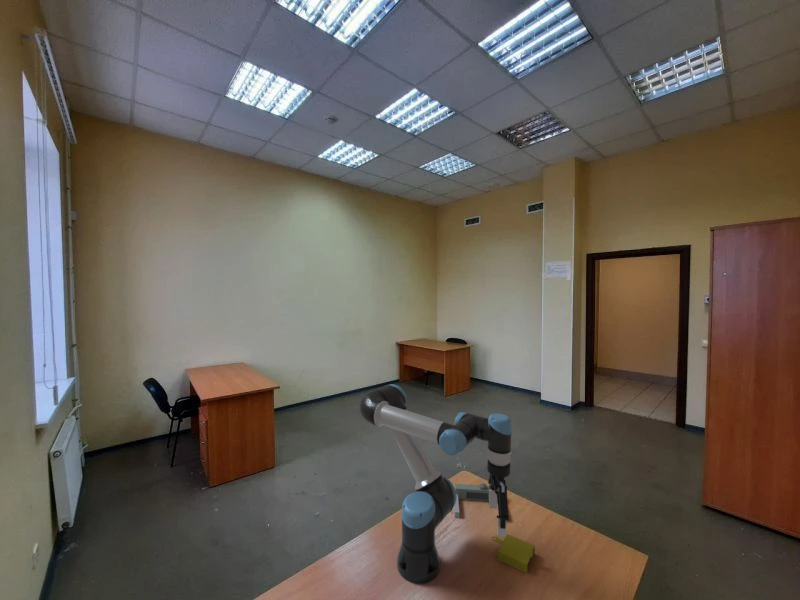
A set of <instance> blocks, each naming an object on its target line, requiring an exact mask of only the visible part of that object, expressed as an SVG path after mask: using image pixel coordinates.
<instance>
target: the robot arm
mask: <svg viewBox="0 0 800 600" xmlns="http://www.w3.org/2000/svg"><path fill="white" fill-rule="evenodd" d="M407 399H408V398H407V394H406V393H405V390H404V389H403V388H402V387H401V386H400V385H397V384H394V383H393V384H392V383H391V384H387V385H383V386H380V387H379V388H376V389H374V390H371V391H368V392H366V393H365V394H364V395H363V396H362V397H361V399H360V402H359V413H360V415H361V417H362V418H363V420H364V421H366V422H367V423H368V424H371V425H373V426H376V427H378V428H379V427H380V428H381V427H383V426H385V427H388V428H389V429H390V432H391V433H392V435H393V438H394V439H395V441H396V444H397V445H398V448H399V449H400V451H401V452H400V453H401V454H402V455H403V458H404V460H405V462H406V463H407V466H408V468H409V470H410V472H411V474H412V476H413V479H414V481H415V487H414V490H415V491H416V492H411V493H410V494H408V495H407V496H406V497H405V498H404V500H403V501H402V506H401V507H402V508H401V530H402V531H401V540H402V541H401V545H400V549H399V551H398V554H397V558H396V560H397V563H396V565H397V566H396V567H397V571H398V573H399V574H400V576H401V577H402V578H403V579H405V581H407V582H410V583H413V584H426V583H430V582H432V581H433V580H434V579H435V578H436V577H437V576H438V574H439V573H440V568H441V567H440V566H441V561H440V560H441V558H440V556H439V553H438V549H437V547H436V535H435V534H436V528H438V526H439V525H440V524H441V523H442V522H443V521H444V520H445V518H446V517H447V516H448V515H449V514H450V513H451V512H452V511H453V510H454V505H455V503H456V498H457V496H456V490H455V485H454V484H453V483H452V482H451V480H450V479H447V478H446V477H445V476H443V475H442V474H441V472H440V471H436V470H435V468H434V466H433V463H432V462H431V461H430V459H429V457H428V455H427V453H426V451H425V448H424V446H423V445H422V443H421V441H420V439H422V440H424V441H427V442H430V443H432V444H435V445H439V446H440V449H441V450H442V452H444V453H445V454H446V455H448V456H456V455H458V454H460V453H461V452H463V451H464V450H465V449H466V447H468V446H469V444H471V443H472V442H473V441H475V439H477V440H481V441H483V442H487V463H486V464H487V466H486V468H487V469H486V470H487V472H488V473H489V477H488V480H487V481H488V482H487V483H488V486H489V488H490V489H491V490H490V491H489V501H488V502H489V503H488V508H489V509H494V510H495V509H497V510H498V511H497V512H498V513H497V514H498V515H496V518H497V523H496V526H497V528H496V535H497V536H496V537H501V538H502V537H504V538H505V537H506V535H507V525H508V524H507V523H508V521H510V517H509V505H508V503H509V502H508V486H507V485H506V483H507V482H506V479H505V478H507V477H509V476H510V474H511V456H512V455H513V452H512V448H511V447H512V446H511V445H512V433H513V431H512V420H511V418H510V417H509V415H505V414H504V413H503V414H502V413H492V414H490V415H489V416H488V418H487V417H483V416H480V415H476V414H472V413H471V412H470V413H469V412H464V411H463V412H462V411H461V412H458V413H457V414H456V416H455V419H454V423H453V424H451V423H449V422H445V421H442V420H439V419H434V418H433V417H432V418H431V417H429V416H425V415H423V414H419V413H415V412H413V411H409V410H408V407H407V406H406V405H407V402H408V401H407ZM419 438H420V439H419ZM497 490H499V491H497ZM497 503H498V505H497Z"/></svg>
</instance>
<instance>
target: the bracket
mask: <svg viewBox="0 0 800 600" xmlns="http://www.w3.org/2000/svg"><path fill="white" fill-rule="evenodd" d="M491 540H492V541H494V542H496V543H499V544H500V546H499V548H498V549H497V560H498V561H500V562H502V563H504V564H506V565H509V566H510V567H512V568H515V569H517V570H519V571H521V572H523V573H525V574H528V564H529V561H530V558H533V556H535V555H536V551H535V550H536V545H533V544H531V543H529V542H528V541H525V540H522V539H520V538H517V537H515V536H512V535H510V534H508V533H506V537H504V538H503V539H501V538H499V537H498V536H492V537H491Z"/></svg>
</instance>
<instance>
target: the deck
mask: <svg viewBox="0 0 800 600" xmlns="http://www.w3.org/2000/svg"><path fill="white" fill-rule="evenodd" d="M454 488H455V490H456V496H457V498H456V503H455V505H454V507H453V511H454V518H458V519H460V505H459V500H463V501H464V500H465V501H481V502H489V491H490V490H491V489H490V488H489V485H487V484H485V483H480V484H465V483H455V484H454ZM497 491H499V490H497ZM497 506H498V503H497Z"/></svg>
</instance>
